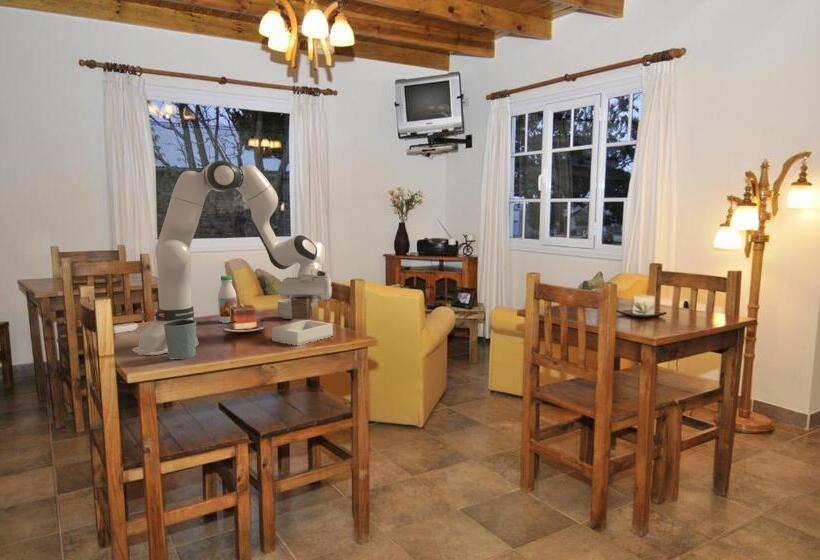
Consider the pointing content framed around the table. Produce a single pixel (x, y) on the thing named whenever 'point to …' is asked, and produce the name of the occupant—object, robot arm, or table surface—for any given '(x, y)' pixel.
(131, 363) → the table surface
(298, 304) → the walnut crate
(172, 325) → the green cup
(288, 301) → the teacup
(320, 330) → the white crate
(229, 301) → the milk bottle
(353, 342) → the table surface
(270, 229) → the robot arm
